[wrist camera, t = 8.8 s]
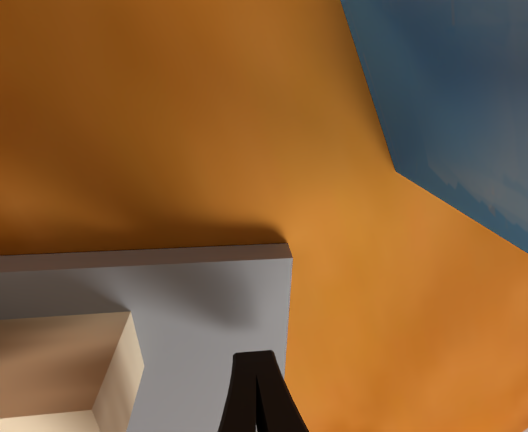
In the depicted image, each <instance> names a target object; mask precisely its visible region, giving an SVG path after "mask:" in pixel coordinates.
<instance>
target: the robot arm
mask: <svg viewBox="0 0 528 432" xmlns="http://www.w3.org/2000/svg"><path fill="white" fill-rule="evenodd" d="M256 427H257V432H309V431H308V429H307V427H306V425H305V423H304V421H303V419H302V417H301V415H300V413H299V411H298V409H297V407H296V405H295V403H294V401H293V399H292V397H291V395H290V393H289V390H288V388H287V386H286V383H285V381H284V379H283V376H282V374H281V371H280V369H279V366H278V363H277V360H276V357H275V353H274V352H273V351H272V350H263V351H251V352H239V353H235V354H234V355H233V363H232V372H231V378H230V384H229V389H228V394H227V398H226V402H225V406H224V410H223V414H222V418H221V421H220V425H219V428H218V432H256Z"/></svg>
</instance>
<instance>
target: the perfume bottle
mask: <svg viewBox="0 0 528 432" xmlns="http://www.w3.org/2000/svg"><path fill="white" fill-rule="evenodd" d="M341 4H342V7H343V10H344V13H345V16H346V19H347V22H348V25H349V28H350V31H351V34H352V38H353V41H354V44H355V47H356V50H357V53H358V56H359V59H360V62H361V65H362V68H363V72H364V75H365V78H366V81H367V84H368V87H369V90H370V93H371V96H372V99H373V102H374V106H375V109H376V112H377V115H378V118H379V121H380V124H381V127H382V130H383V133H384V136H385V139H386V143H387V146H388V149H389V152H390V155H391V158H392V161H393V164H394V167H395V170H396V172H398V173H399V174H401V175H403V176H404V177H406V178H408V179H409V180H411V181H412V182H414V183H416V184H417V185H419V186H420V187H422V188H424V189H425V190H427V191H428V192H430V193H432V194H433V195H435V196H436V197H438V198H440V199H441V200H443V201H445V202H446V203H448V204H449V205H451V206H453V207H454V208H456V209H457V210H459V211H461V212H462V213H464V214H465V215H467V216H469V217H470V218H472V219H473V220H475V221H477V222H478V223H480V224H481V225H483V226H485V227H486V228H488V229H490V230H491V231H493V232H494V233H496V234H498V235H499V236H501V237H502V238H504V239H506V240H507V241H509V242H510V243H512V244H514V245H515V246H517V247H518V248H520V249H522V250H523V251H525V252H527V253H528V0H341Z"/></svg>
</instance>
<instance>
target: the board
mask: <svg viewBox="0 0 528 432" xmlns="http://www.w3.org/2000/svg"><path fill="white" fill-rule="evenodd" d="M292 262H293V257H292V254H291V251H290V248H289V245H288V243H280V244H257V245H235V246H212V247H189V248H167V249H144V250H121V251H99V252H76V253H53V254H31V255H8V256H0V320H6V319H21V318H37V317H52V316H67V315H83V314H98V313H113V312H129V311H131V314H132V318H133V322H134V326H135V330H136V334H137V338H138V342H139V346H140V350H141V354H142V358H143V362H144V370H143V373H142V377H141V380H140V384H139V388H138V391H137V395H136V398H135V402H134V405H133V409H132V413H131V416H130V420H129V423H128V427H127V430H126V432H218V428H219V425H220V421H221V418H222V414H223V410H224V406H225V402H226V398H227V394H228V389H229V384H230V378H231V372H232V363H233V355H234V354H235V353H239V352H251V351H263V350H272V351H273V352H274V353H275V357H276V360H277V363H278V366H279V369H280V371H281V374H282V376H283V379H284V374H285V360H286V346H287V332H288V318H289V304H290V290H291V276H292ZM256 432H257V427H256Z"/></svg>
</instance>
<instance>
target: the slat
mask: <svg viewBox="0 0 528 432" xmlns="http://www.w3.org/2000/svg"><path fill="white" fill-rule="evenodd" d="M143 370H144V362H143V358H142V354H141V350H140V346H139V342H138V338H137V334H136V330H135V326H134V322H133V318H132V314H131V311H129V312H113V313H98V314H83V315H67V316H52V317H37V318H21V319H6V320H0V432H126V430H127V427H128V423H129V420H130V416H131V413H132V409H133V405H134V402H135V398H136V395H137V391H138V388H139V384H140V380H141V377H142V373H143Z"/></svg>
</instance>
